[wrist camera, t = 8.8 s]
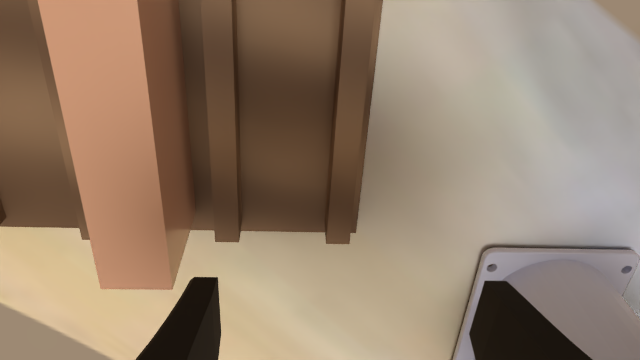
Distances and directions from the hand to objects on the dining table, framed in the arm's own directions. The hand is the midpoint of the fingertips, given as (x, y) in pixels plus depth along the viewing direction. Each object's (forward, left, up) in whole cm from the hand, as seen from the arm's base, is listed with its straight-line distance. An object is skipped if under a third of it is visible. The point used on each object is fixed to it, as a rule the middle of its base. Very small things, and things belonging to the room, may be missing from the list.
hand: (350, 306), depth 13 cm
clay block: (+4, +7, -9) cm, 12 cm away
